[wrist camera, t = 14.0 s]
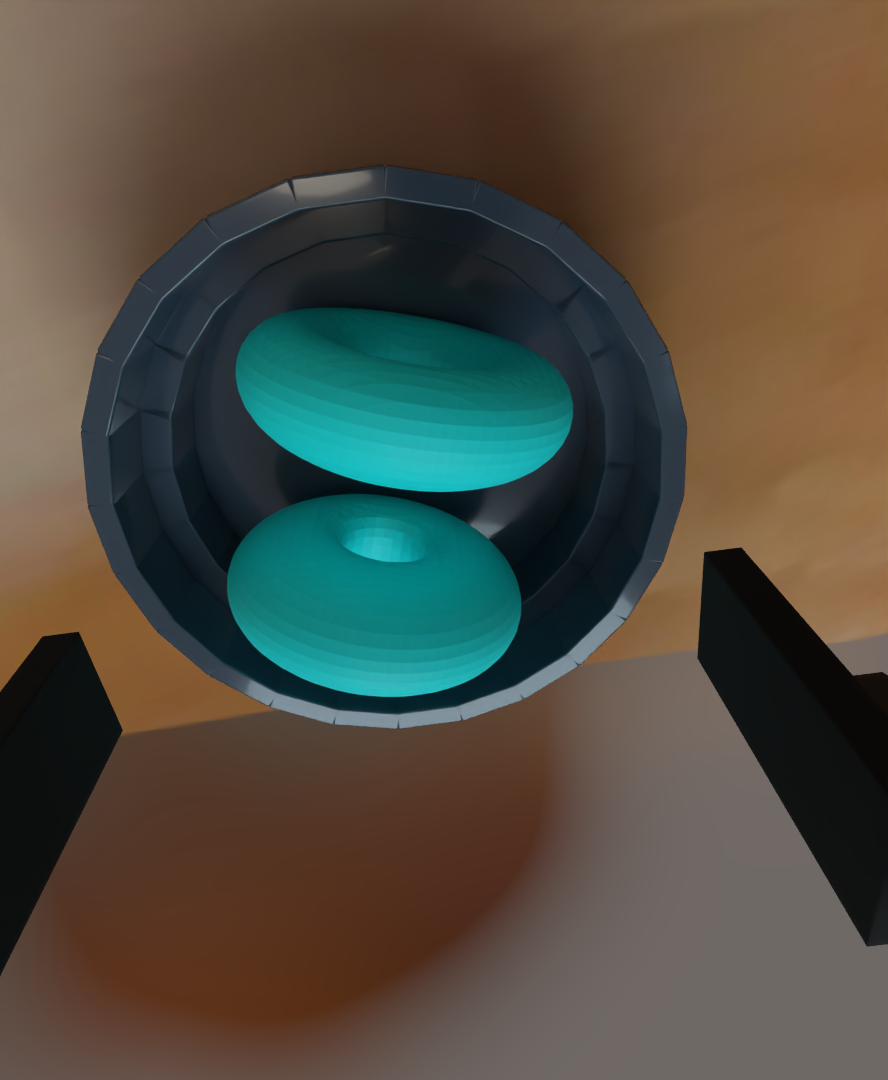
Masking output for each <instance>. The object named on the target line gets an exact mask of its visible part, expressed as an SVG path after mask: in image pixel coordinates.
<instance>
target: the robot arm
mask: <svg viewBox="0 0 888 1080" xmlns="http://www.w3.org/2000/svg"><path fill="white" fill-rule="evenodd" d="M698 660H699V662H700V663H701V665H702V667H703V668H704V670H705V672H706V673H707V675H708V677H709V679H710V680H711V682H712V683H713V685H714V687H715V689H716V690H717V692H718V694H719V696H720V697H721V699H722V701H723V702H724V704H725V706H726V708H727V709H728V711H729V713H730V714H731V716H732V718H733V719H734V721H735V722H736V725H737V726H738V728H739V729H740V731H741V733H742V735H743V736H744V738H745V740H746V742H747V743H748V745H749V747H750V748H751V750H752V752H753V753H754V755H755V757H756V758H757V760H758V762H759V764H760V765H761V767H762V769H763V770H764V772H765V774H766V775H767V777H768V779H769V781H770V782H771V784H772V786H773V787H774V789H775V791H776V793H777V794H778V796H779V798H780V799H781V801H782V803H783V804H784V806H785V808H786V809H787V811H788V813H789V815H790V816H791V818H792V820H793V821H794V823H795V825H796V827H797V828H798V830H799V832H800V833H801V835H802V837H803V838H804V840H805V842H806V844H807V845H808V847H809V849H810V850H811V852H812V854H813V855H814V857H815V859H816V861H817V862H818V864H819V866H820V867H821V869H822V871H823V872H824V874H825V876H826V878H827V879H828V881H829V883H830V884H831V886H832V888H833V889H834V891H835V893H836V895H837V896H838V898H839V900H840V901H841V903H842V905H843V906H844V908H845V910H846V912H847V913H848V915H849V917H850V918H851V920H852V922H853V924H854V925H855V927H856V928H857V930H858V932H859V934H860V935H861V937H862V939H863V940H864V942H865V944H866V946H876V945H884V944H888V675H886V674H884V673H883V672H879V673H871V674H863V675H855V676H853V675H852V674H851V673H850V672H849V671H848V670H847V668H846V667H845V666H844V665H843V664H842V663H841V662H840V661H839V659H838V658H837V657H836V656H835V655H834V653H833V652H832V651H831V650H830V649H829V648H828V647H827V645H826V644H825V643H824V642H823V641H822V640H821V639H820V637H819V636H818V635H817V634H816V633H815V632H814V630H813V629H812V628H811V627H810V626H809V625H808V624H807V622H806V621H805V620H804V619H803V618H802V617H801V616H800V614H799V613H798V612H797V611H796V610H795V609H794V608H793V606H792V605H791V604H790V603H789V602H788V601H787V599H786V598H785V597H784V596H783V595H782V594H781V593H780V591H779V590H778V589H777V588H776V587H775V586H774V585H773V583H772V582H771V581H770V580H769V579H768V578H767V576H766V575H765V574H764V573H763V572H762V571H761V570H760V568H759V567H758V566H757V565H756V564H755V563H754V562H753V560H752V559H751V558H750V557H749V556H748V555H747V554H746V552H745V551H744V550H743V549H742V548H733V549H725V550H718V551H710V552H704V564H703V580H702V596H701V611H700V627H699V643H698ZM122 731H123V730H122V727H121V725H120V723H119V721H118V718H117V716H116V714H115V712H114V710H113V707H112V705H111V703H110V701H109V698H108V696H107V694H106V692H105V689H104V687H103V685H102V683H101V680H100V678H99V676H98V674H97V672H96V669H95V667H94V665H93V663H92V660H91V658H90V656H89V654H88V651H87V649H86V647H85V645H84V642H83V640H82V638H81V636H80V634H79V632H74V633H66V634H58V635H51V636H43V637H42V638H41V639H40V641H39V642H38V643H37V645H36V646H35V647H34V649H33V650H32V651H31V653H30V654H29V655H28V656H27V658H26V659H25V660H24V662H23V663H22V664H21V666H20V667H19V668H18V669H17V671H16V672H15V673H14V675H13V676H12V677H11V679H10V680H9V681H8V683H7V684H6V685H5V686H4V688H3V689H2V690H1V692H0V975H1V973H2V971H3V969H4V967H5V965H6V963H7V961H8V959H9V957H10V955H11V953H12V951H13V949H14V947H15V945H16V943H17V941H18V939H19V937H20V935H21V933H22V931H23V929H24V927H25V925H26V923H27V921H28V919H29V917H30V915H31V913H32V911H33V909H34V907H35V905H36V903H37V901H38V899H39V897H40V895H41V893H42V891H43V889H44V887H45V885H46V883H47V881H48V879H49V877H50V875H51V873H52V871H53V869H54V867H55V865H56V863H57V861H58V859H59V857H60V855H61V853H62V851H63V849H64V847H65V845H66V843H67V841H68V839H69V837H70V835H71V833H72V831H73V829H74V827H75V825H76V823H77V821H78V819H79V817H80V815H81V813H82V811H83V809H84V807H85V805H86V803H87V801H88V799H89V797H90V795H91V793H92V791H93V789H94V787H95V785H96V783H97V781H98V779H99V777H100V775H101V773H102V771H103V769H104V767H105V765H106V763H107V761H108V759H109V757H110V755H111V753H112V751H113V749H114V747H115V745H116V743H117V741H118V738H119V737H120V735H121V733H122Z"/></svg>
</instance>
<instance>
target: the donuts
mask: <svg viewBox="0 0 888 1080" xmlns="http://www.w3.org/2000/svg"><path fill="white" fill-rule="evenodd" d="M235 375H236V381H237V387H238V392H239V394H240V396H241V399H242V401H243V404H244V406H245V408H246V409H247V411H248V412H249V414H250V415H251V416H252V418H253V419H254V421H255V422H256V423H257V425H258V426H259V427H260V428H261V429H262V430H263V431H264V432H265V433H266V434H267V435H269V436H270V437H271V438H272V439H273V440H274V441H276V442H277V443H278V444H279V445H281V446H282V447H283V448H285V449H286V450H288V451H290V452H291V453H293V454H295V455H297V456H298V457H300V458H302V459H304V460H306V461H308V462H310V463H312V464H314V465H316V466H318V467H321V468H323V469H325V470H328V471H330V472H333V473H336V474H338V475H342V476H345V477H348V478H351V479H354V480H358V481H362V482H366V483H370V484H374V485H380V486H385V487H391V488H397V489H405V490H414V491H428V492H454V491H467V490H475V489H482V488H488V487H493V486H498V485H502V484H505V483H508V482H511V481H514V480H516V479H518V478H521V477H523V476H525V475H527V474H529V473H531V472H533V471H535V470H537V469H538V468H539V467H541V466H542V465H543V464H545V463H546V462H547V461H548V460H550V459H551V458H552V457H553V456H554V455H555V453H556V452H557V451H558V450H559V449H560V447H561V446H562V445H563V443H564V441H565V439H566V437H567V435H568V433H569V431H570V427H571V423H572V419H573V401H572V397H571V393H570V389H569V387H568V385H567V383H566V382H565V380H564V379H563V377H562V375H561V374H560V372H559V371H558V370H557V369H556V368H555V367H554V366H553V365H552V364H551V363H550V362H548V361H547V360H546V359H545V358H543V357H542V356H540V355H539V354H537V353H535V352H534V351H532V350H530V349H528V348H526V347H524V346H522V345H520V344H518V343H515V342H513V341H510V340H508V339H505V338H502V337H499V336H496V335H493V334H490V333H487V332H484V331H480V330H477V329H473V328H469V327H466V326H462V325H458V324H453V323H449V322H445V321H440V320H436V319H431V318H426V317H420V316H415V315H408V314H402V313H395V312H387V311H377V310H368V309H355V308H331V307H330V308H307V309H301V310H293V311H289V312H285V313H280V314H278V315H275V316H273V317H271V318H268V319H266V320H265V321H263V322H262V323H261V324H260V325H258V326H257V327H256V328H255V329H253V330H252V331H251V332H250V333H249V334H248V336H247V337H246V339H245V341H244V342H243V344H242V345H241V347H240V350H239V353H238V357H237V360H236V374H235ZM227 595H228V600H229V604H230V607H231V611H232V614H233V616H234V619H235V621H236V622H237V624H238V626H239V627H240V629H241V630H242V632H243V633H244V635H245V636H246V637H247V639H248V640H249V641H250V642H251V644H252V645H253V646H254V647H255V648H256V649H257V650H258V651H260V652H261V653H262V654H263V655H264V656H266V657H267V658H268V659H270V660H271V661H272V662H274V663H275V664H277V665H278V666H280V667H281V668H283V669H285V670H287V671H289V672H291V673H293V674H294V675H296V676H298V677H300V678H302V679H305V680H307V681H310V682H312V683H315V684H318V685H321V686H324V687H327V688H331V689H334V690H338V691H342V692H347V693H352V694H358V695H367V696H378V697H404V696H415V695H421V694H428V693H433V692H438V691H441V690H445V689H448V688H451V687H454V686H457V685H460V684H462V683H465V682H467V681H469V680H471V679H473V678H475V677H477V676H478V675H480V674H481V673H483V672H484V671H486V670H487V669H488V668H489V667H491V666H492V665H493V664H494V663H495V662H496V661H497V660H498V659H499V658H500V657H501V656H502V655H503V654H504V653H505V651H506V650H507V648H508V647H509V645H510V644H511V642H512V640H513V639H514V637H515V634H516V632H517V628H518V625H519V621H520V617H521V594H520V590H519V586H518V582H517V579H516V576H515V574H514V572H513V570H512V568H511V566H510V565H509V563H508V561H507V560H506V558H505V557H504V555H503V554H502V553H501V552H500V551H499V550H498V548H497V547H496V546H495V545H494V544H493V543H492V542H491V541H490V540H489V539H488V538H487V537H486V536H484V535H483V534H482V533H481V532H479V531H478V530H477V529H475V528H474V527H472V526H470V525H469V524H467V523H466V522H464V521H462V520H460V519H459V518H457V517H455V516H453V515H451V514H448V513H446V512H444V511H442V510H439V509H437V508H434V507H431V506H428V505H425V504H422V503H419V502H415V501H411V500H407V499H402V498H397V497H391V496H383V495H373V494H341V495H331V496H324V497H319V498H314V499H310V500H305V501H302V502H298V503H295V504H292V505H290V506H288V507H285V508H283V509H281V510H279V511H277V512H276V513H274V514H272V515H270V516H269V517H267V518H265V519H264V520H262V521H261V522H260V523H259V524H257V525H256V526H255V527H254V528H253V529H252V530H251V531H250V532H249V533H248V534H247V535H246V536H245V537H244V539H243V540H242V541H241V543H240V545H239V546H238V548H237V549H236V551H235V553H234V555H233V557H232V560H231V564H230V567H229V571H228V577H227Z"/></svg>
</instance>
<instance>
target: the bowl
mask: <svg viewBox="0 0 888 1080" xmlns="http://www.w3.org/2000/svg"><path fill="white" fill-rule="evenodd" d="M330 307H331V308H355V309H368V310H377V311H387V312H395V313H402V314H408V315H415V316H420V317H426V318H431V319H436V320H440V321H445V322H449V323H453V324H458V325H462V326H466V327H469V328H473V329H477V330H480V331H484V332H487V333H490V334H493V335H496V336H499V337H502V338H505V339H508V340H510V341H513V342H515V343H518V344H520V345H522V346H524V347H526V348H528V349H530V350H532V351H534V352H535V353H537V354H539V355H540V356H542V357H543V358H545V359H546V360H547V361H548V362H550V363H551V364H552V365H553V366H554V367H555V368H556V369H557V370H558V371H559V372H560V374H561V375H562V377H563V379H564V380H565V382H566V383H567V385H568V387H569V389H570V393H571V397H572V401H573V419H572V423H571V427H570V431H569V433H568V435H567V437H566V439H565V441H564V443H563V445H562V446H561V447H560V449H559V450H558V451H557V452H556V453H555V455H554V456H553V457H552V458H551V459H550V460H548V461H547V462H546V463H545V464H543V465H542V466H541V467H539V468H538V469H537V470H535V471H533V472H531V473H529V474H527V475H525V476H523V477H521V478H518V479H516V480H514V481H511V482H508V483H505V484H502V485H498V486H493V487H488V488H482V489H475V490H467V491H454V492H428V491H414V490H405V489H397V488H391V487H385V486H380V485H374V484H370V483H366V482H362V481H358V480H354V479H351V478H348V477H345V476H342V475H338V474H336V473H333V472H330V471H328V470H325V469H323V468H321V467H318V466H316V465H314V464H312V463H310V462H308V461H306V460H304V459H302V458H300V457H298V456H297V455H295V454H293V453H291V452H290V451H288V450H286V449H285V448H283V447H282V446H281V445H279V444H278V443H277V442H276V441H274V440H273V439H272V438H271V437H270V436H269V435H267V434H266V433H265V432H264V431H263V430H262V429H261V428H260V427H259V426H258V425H257V423H256V422H255V421H254V419H253V418H252V416H251V415H250V414H249V412H248V411H247V409H246V408H245V406H244V404H243V401H242V399H241V396H240V394H239V392H238V387H237V381H236V375H235V374H236V360H237V357H238V353H239V350H240V347H241V345H242V344H243V342H244V341H245V339H246V337H247V336H248V334H249V333H250V332H251V331H252V330H253V329H255V328H256V327H257V326H258V325H260V324H261V323H262V322H263V321H265V320H266V319H268V318H271V317H273V316H275V315H278V314H280V313H285V312H289V311H293V310H301V309H307V308H330ZM81 429H82V431H81V439H82V449H83V460H84V471H85V481H86V492H87V503H88V509H89V511H90V514H91V517H92V519H93V522H94V524H95V527H96V529H97V532H98V534H99V537H100V540H101V542H102V545H103V547H104V550H105V552H106V555H107V557H108V560H109V562H110V565H111V568H112V570H113V573H115V576H116V577H117V578H118V580H119V581H120V583H121V584H122V585H123V587H124V588H125V589H126V591H127V592H128V593H129V595H130V596H131V598H132V599H133V600H134V602H135V603H136V604H137V606H138V607H139V609H140V610H141V611H142V613H143V614H144V615H145V617H146V618H147V619H148V621H149V622H150V624H151V625H152V626H153V628H154V629H155V630H157V632H158V633H159V634H160V635H161V636H162V637H164V638H165V639H166V640H167V641H168V642H169V643H171V644H172V645H173V646H174V647H175V648H177V649H178V650H179V651H180V652H181V653H183V654H184V655H185V656H186V657H187V658H188V659H190V660H191V661H192V662H193V663H194V664H196V665H197V666H198V667H199V668H200V669H201V670H203V671H204V672H205V673H206V674H207V675H210V676H211V677H212V678H214V679H216V680H218V681H220V682H222V683H224V684H226V685H228V686H230V687H232V688H234V689H235V690H237V691H239V692H241V693H243V694H245V695H247V696H249V697H251V698H253V699H255V700H257V701H259V702H260V703H262V704H264V705H266V706H270V707H271V708H274V709H278V710H281V711H285V712H289V713H293V714H296V715H300V716H303V717H307V718H311V719H314V720H318V721H321V722H325V723H328V724H334V725H346V726H361V727H375V728H391V729H398V728H399V729H403V728H410V727H418V726H425V725H432V724H441V723H448V722H456V721H462V720H467V719H470V718H472V717H475V716H478V715H481V714H484V713H487V712H490V711H492V710H495V709H498V708H501V707H504V706H507V705H509V704H512V703H515V702H518V701H521V700H523V699H525V698H527V697H529V696H530V695H532V694H534V693H535V692H537V691H539V690H540V689H542V688H544V687H545V686H547V685H549V684H550V683H552V682H553V681H555V680H557V679H558V678H560V677H562V676H563V675H565V674H567V673H568V672H570V671H571V670H573V669H575V668H577V667H578V666H579V665H581V664H582V663H583V662H584V661H585V660H586V659H587V658H588V657H589V656H590V655H591V654H592V653H593V652H594V651H595V650H596V649H597V648H598V647H599V646H600V645H602V644H603V643H604V642H605V641H606V640H607V639H608V638H609V637H610V636H611V635H612V634H613V633H614V632H615V631H616V630H617V629H618V628H619V627H620V626H621V625H622V624H623V623H624V622H625V621H626V619H627V618H628V617H629V615H630V614H631V612H632V611H633V609H634V608H635V606H636V604H637V603H638V601H639V600H640V598H641V597H642V595H643V593H644V592H645V590H646V589H647V587H648V586H649V584H650V582H651V581H652V579H653V578H654V576H655V574H656V573H657V571H658V570H659V568H660V567H661V565H662V562H663V561H664V558H665V554H666V551H667V548H668V545H669V542H670V539H671V536H672V533H673V530H674V526H675V523H676V520H677V517H678V514H679V511H680V508H681V505H682V502H683V497H684V488H685V463H686V439H687V422H686V418H685V414H684V410H683V406H682V402H681V398H680V394H679V390H678V386H677V382H676V378H675V374H674V370H673V366H672V362H671V358H670V354H669V351H668V350H667V347H666V345H665V343H664V342H663V340H662V338H661V337H660V335H659V333H658V331H657V330H656V328H655V326H654V325H653V323H652V321H651V320H650V318H649V316H648V315H647V313H646V311H645V309H644V308H643V306H642V304H641V303H640V301H639V299H638V298H637V296H636V294H635V292H634V291H633V289H632V287H631V286H630V284H629V282H628V281H626V280H625V277H624V276H622V275H621V274H620V273H619V272H618V271H617V270H616V269H615V268H614V267H613V266H612V265H611V264H609V263H608V262H607V261H606V260H605V259H604V258H603V257H602V256H601V255H600V254H599V253H597V252H596V251H595V250H594V249H593V248H592V247H591V246H590V245H589V244H588V243H587V242H586V241H584V240H583V239H582V238H581V237H580V236H579V235H578V234H577V233H576V232H575V231H574V230H573V229H571V228H570V227H569V226H568V225H567V224H566V223H565V222H563V221H561V220H560V219H559V218H557V217H555V216H553V215H551V214H549V213H547V212H545V211H543V210H541V209H539V208H537V207H535V206H532V205H530V204H528V203H526V202H524V201H522V200H520V199H518V198H516V197H514V196H512V195H510V194H508V193H506V192H504V191H502V190H500V189H497V188H495V187H493V186H491V185H489V184H487V183H485V182H483V181H478V180H476V179H473V178H467V177H460V176H454V175H448V174H442V173H435V172H429V171H423V170H417V169H411V168H404V167H398V166H392V165H385V166H384V165H376V166H368V167H361V168H354V169H346V170H339V171H332V172H324V173H317V174H310V175H302V176H295V177H291V178H290V179H284V180H282V181H280V182H278V183H276V184H274V185H272V186H269V187H267V188H265V189H263V190H261V191H259V192H257V193H254V194H252V195H250V196H248V197H246V198H244V199H242V200H239V201H237V202H235V203H233V204H231V205H229V206H227V207H224V208H222V209H220V210H218V211H216V212H214V213H212V214H209V215H207V217H206V218H203V219H201V220H200V221H199V222H198V223H197V224H196V225H195V226H194V227H193V228H192V229H190V230H189V231H188V232H187V233H186V234H185V235H184V236H183V237H182V238H181V239H180V240H179V241H177V242H176V243H175V244H174V245H173V246H172V247H171V248H170V249H169V250H168V251H167V252H165V253H164V254H163V255H162V256H161V257H160V258H159V259H158V260H157V261H156V262H155V263H154V264H152V265H151V266H150V267H149V268H148V269H147V270H146V271H145V272H144V273H143V274H142V275H140V278H139V279H138V280H137V281H136V282H135V284H134V286H133V288H132V290H131V291H130V293H129V295H128V297H127V298H126V300H125V302H124V304H123V305H122V307H121V309H120V311H119V313H118V314H117V316H116V318H115V320H114V321H113V323H112V325H111V327H110V328H109V330H108V332H107V334H106V336H105V337H104V339H103V341H102V343H101V344H100V346H99V348H98V352H97V354H96V358H95V362H94V367H93V372H92V377H91V382H90V386H89V391H88V396H87V401H86V406H85V411H84V415H83V420H82V425H81ZM341 494H373V495H383V496H391V497H397V498H402V499H407V500H411V501H415V502H419V503H422V504H425V505H428V506H431V507H434V508H437V509H439V510H442V511H444V512H446V513H448V514H451V515H453V516H455V517H457V518H459V519H460V520H462V521H464V522H466V523H467V524H469V525H470V526H472V527H474V528H475V529H477V530H478V531H479V532H481V533H482V534H483V535H484V536H486V537H487V538H488V539H489V540H490V541H491V542H492V543H493V544H494V545H495V546H496V547H497V548H498V550H499V551H500V552H501V553H502V554H503V555H504V557H505V558H506V560H507V561H508V563H509V565H510V566H511V568H512V570H513V572H514V574H515V576H516V579H517V582H518V586H519V590H520V594H521V617H520V621H519V625H518V628H517V632H516V634H515V637H514V639H513V640H512V642H511V644H510V645H509V647H508V648H507V650H506V651H505V653H504V654H503V655H502V656H501V657H500V658H499V659H498V660H497V661H496V662H495V663H494V664H493V665H492V666H491V667H489V668H488V669H487V670H486V671H484V672H483V673H481V674H480V675H478V676H477V677H475V678H473V679H471V680H469V681H467V682H465V683H462V684H460V685H457V686H454V687H451V688H448V689H445V690H441V691H438V692H433V693H428V694H421V695H415V696H404V697H378V696H367V695H358V694H352V693H347V692H342V691H338V690H334V689H331V688H327V687H324V686H321V685H318V684H315V683H312V682H310V681H307V680H305V679H302V678H300V677H298V676H296V675H294V674H293V673H291V672H289V671H287V670H285V669H283V668H281V667H280V666H278V665H277V664H275V663H274V662H272V661H271V660H270V659H268V658H267V657H266V656H264V655H263V654H262V653H261V652H260V651H258V650H257V649H256V648H255V647H254V646H253V645H252V644H251V642H250V641H249V640H248V639H247V637H246V636H245V635H244V633H243V632H242V630H241V629H240V627H239V626H238V624H237V622H236V621H235V619H234V616H233V614H232V611H231V607H230V604H229V600H228V595H227V577H228V571H229V567H230V564H231V560H232V557H233V555H234V553H235V551H236V549H237V548H238V546H239V545H240V543H241V541H242V540H243V539H244V537H245V536H246V535H247V534H248V533H249V532H250V531H251V530H252V529H253V528H254V527H255V526H256V525H257V524H259V523H260V522H261V521H262V520H264V519H265V518H267V517H269V516H270V515H272V514H274V513H276V512H277V511H279V510H281V509H283V508H285V507H288V506H290V505H292V504H295V503H298V502H302V501H305V500H310V499H314V498H319V497H324V496H331V495H341Z"/></svg>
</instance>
